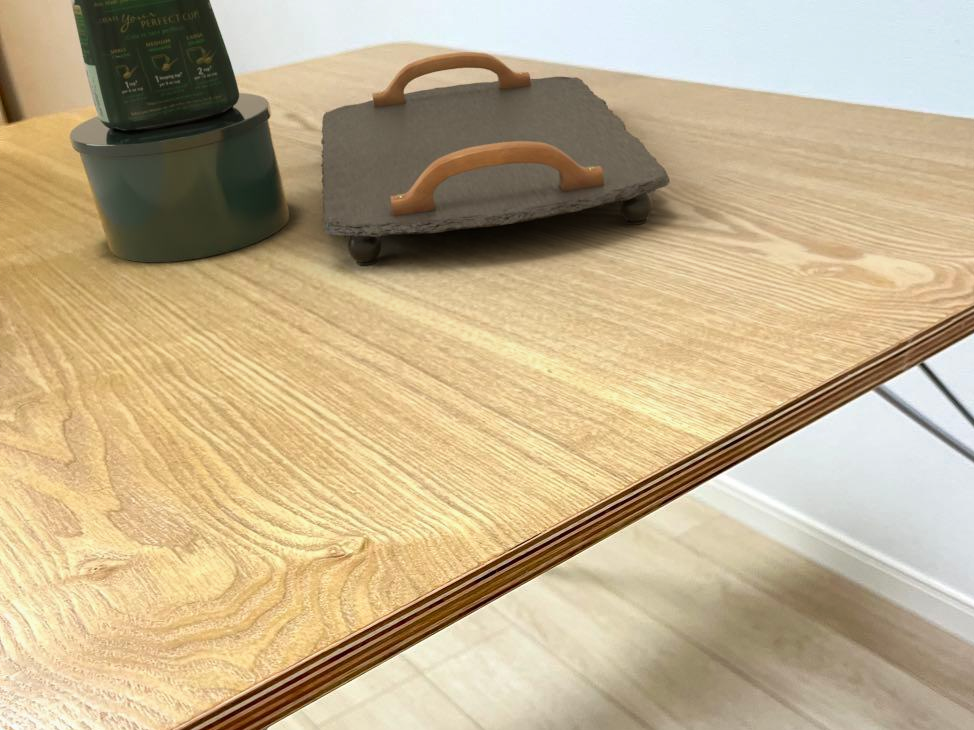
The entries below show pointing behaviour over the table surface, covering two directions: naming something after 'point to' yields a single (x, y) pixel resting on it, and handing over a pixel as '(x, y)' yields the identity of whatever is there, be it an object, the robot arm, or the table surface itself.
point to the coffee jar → (154, 61)
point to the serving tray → (476, 156)
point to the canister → (185, 184)
